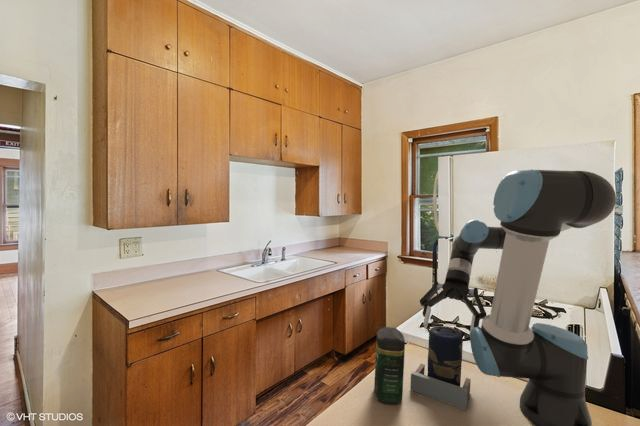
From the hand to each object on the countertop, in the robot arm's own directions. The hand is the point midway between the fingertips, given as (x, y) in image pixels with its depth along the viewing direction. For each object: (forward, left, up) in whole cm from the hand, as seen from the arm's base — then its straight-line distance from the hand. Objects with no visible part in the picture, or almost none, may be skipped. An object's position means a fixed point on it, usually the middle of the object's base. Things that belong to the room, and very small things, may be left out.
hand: (447, 331), depth 98 cm
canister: (0, +4, -15) cm, 16 cm away
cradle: (0, +6, -15) cm, 16 cm away
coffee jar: (+12, +18, -15) cm, 26 cm away
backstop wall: (0, +11, -15) cm, 19 cm away
